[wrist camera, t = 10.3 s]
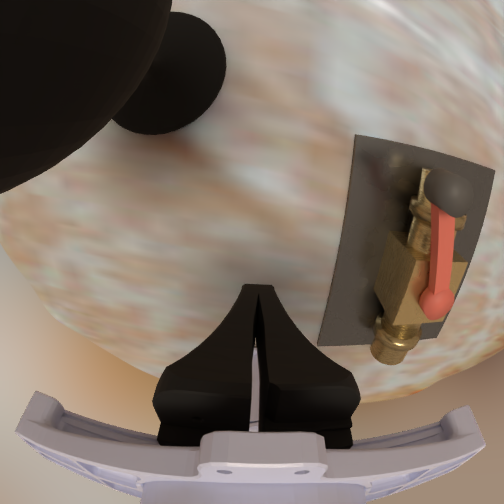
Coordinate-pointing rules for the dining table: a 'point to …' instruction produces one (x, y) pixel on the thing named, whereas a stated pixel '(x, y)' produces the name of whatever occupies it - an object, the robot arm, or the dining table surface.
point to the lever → (443, 236)
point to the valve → (395, 247)
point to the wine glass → (97, 75)
